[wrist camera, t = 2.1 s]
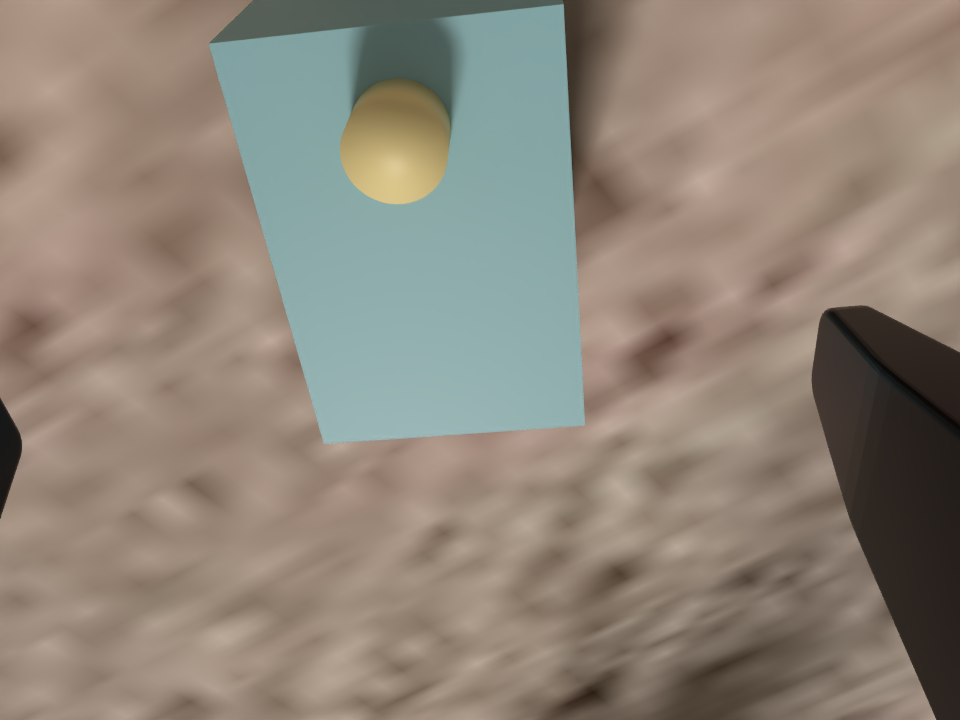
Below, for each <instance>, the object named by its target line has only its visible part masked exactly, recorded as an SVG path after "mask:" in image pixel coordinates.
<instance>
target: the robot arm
mask: <svg viewBox="0 0 960 720" xmlns="http://www.w3.org/2000/svg"><path fill="white" fill-rule="evenodd" d="M812 390H813V395H814V399H815V403H816V406H817V410H818V413H819V417H820V420H821V423H822V427H823V430H824V434H825V437H826V441H827V444H828V448H829V451H830V455H831V458H832V461H833V465H834V468H835V472H836V475H837V479H838V482H839V486H840V489H841V492H842V496H843V499H844V502H845V505H846V509H847V512H848V515H849V518H850V521H851V523H852V526H853V528H854V531H855V533H856V536H857V538H858V540H859V543H860V545H861V547H862V550H863V552H864V554H865V557H866V559H867V561H868V563H869V566H870V568H871V570H872V573H873V575H874V577H875V580H876V582H877V584H878V586H879V589H880V591H881V593H882V596H883V598H884V600H885V603H886V605H887V607H888V609H889V612H890V614H891V616H892V619H893V621H894V623H895V626H896V628H897V630H898V632H899V635H900V637H901V639H902V642H903V644H904V646H905V649H906V651H907V653H908V655H909V658H910V660H911V662H912V665H913V667H914V669H915V672H916V674H917V676H918V678H919V681H920V683H921V685H922V688H923V690H924V692H925V695H926V697H927V699H928V701H929V704H930V706H931V708H932V711H933V713H934V715H935V718H936V720H960V352H958V351H956V350H954V349H952V348H950V347H948V346H946V345H944V344H942V343H940V342H938V341H936V340H934V339H932V338H930V337H928V336H926V335H924V334H922V333H920V332H918V331H916V330H914V329H912V328H910V327H908V326H906V325H904V324H902V323H900V322H898V321H897V320H895V319H893V318H891V317H889V316H887V315H885V314H883V313H881V312H879V311H877V310H875V309H873V308H871V307H868V306H862V305H860V306H848V307H836V308H829V309H827V310H826V311H825V312H824V313H823V314H822V316H821V319H820V322H819V328H818V335H817V342H816V349H815V356H814V362H813V369H812ZM21 453H22V440H21V436H20V433H19V431H18V429H17V427H16V425H15V423H14V421H13V420H12V418H11V416H10V414H9V413H8V411H7V409H6V407H5V405H4V404H3V402H2V400H1V398H0V518H1V515H2V512H3V509H4V506H5V503H6V500H7V497H8V494H9V491H10V487H11V484H12V481H13V478H14V475H15V472H16V469H17V466H18V463H19V460H20V457H21Z"/></svg>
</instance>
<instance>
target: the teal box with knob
mask: <svg viewBox="0 0 960 720" xmlns="http://www.w3.org/2000/svg"><path fill="white" fill-rule="evenodd" d="M209 47H210V50H211V53H212V57H213V60H214V64H215V67H216V71H217V74H218V78H219V81H220V85H221V88H222V92H223V95H224V99H225V102H226V106H227V109H228V112H229V116H230V119H231V123H232V126H233V130H234V133H235V137H236V140H237V144H238V147H239V151H240V154H241V158H242V161H243V164H244V168H245V171H246V175H247V178H248V182H249V185H250V189H251V192H252V196H253V199H254V203H255V206H256V210H257V213H258V217H259V220H260V223H261V227H262V230H263V234H264V237H265V241H266V244H267V248H268V251H269V255H270V258H271V262H272V265H273V269H274V272H275V276H276V279H277V282H278V286H279V289H280V293H281V296H282V300H283V303H284V307H285V310H286V314H287V317H288V321H289V324H290V328H291V331H292V335H293V338H294V341H295V345H296V348H297V352H298V355H299V359H300V362H301V366H302V369H303V373H304V376H305V380H306V383H307V387H308V390H309V394H310V397H311V400H312V404H313V407H314V411H315V414H316V418H317V421H318V425H319V428H320V432H321V435H322V439H323V442H324V444H329V443H344V442H358V441H372V440H386V439H401V438H415V437H429V436H443V435H458V434H472V433H486V432H500V431H514V430H529V429H543V428H557V427H571V426H585V417H584V397H583V377H582V358H581V338H580V318H579V298H578V278H577V259H576V239H575V219H574V199H573V180H572V160H571V140H570V120H569V100H568V81H567V61H566V41H565V21H564V4H563V0H253V1H252V2H251V3H250V4H249V5H248V6H247V7H246V8H245V9H244V10H243V11H242V12H241V13H240V14H239V15H238V16H237V17H236V18H235V19H234V20H233V21H232V22H231V23H230V24H229V25H228V26H226V27H225V28H224V29H223V30H222V31H221V32H220V33H219V34H218V35H217V36H216V37H215V38H214V39H213V40H212V41H211V42H210V43H209Z"/></svg>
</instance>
